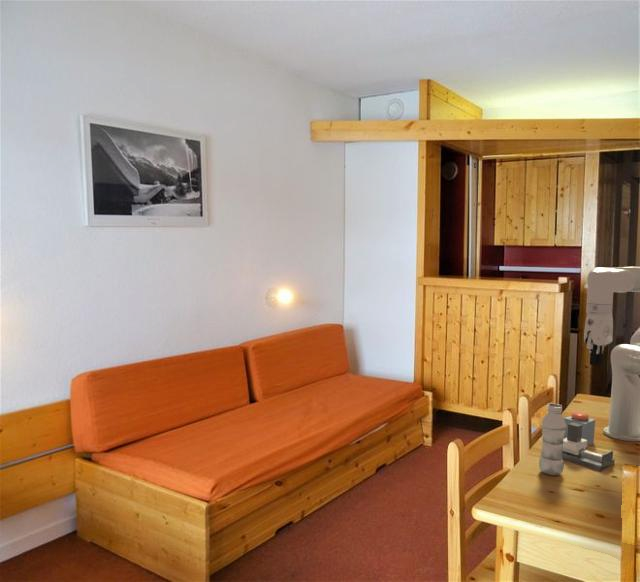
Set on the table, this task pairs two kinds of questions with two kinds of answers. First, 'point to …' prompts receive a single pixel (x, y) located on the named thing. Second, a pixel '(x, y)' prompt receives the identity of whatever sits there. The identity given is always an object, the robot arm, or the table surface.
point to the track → (591, 459)
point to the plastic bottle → (552, 441)
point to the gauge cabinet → (583, 428)
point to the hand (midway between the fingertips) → (595, 365)
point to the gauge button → (580, 416)
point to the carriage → (574, 439)
